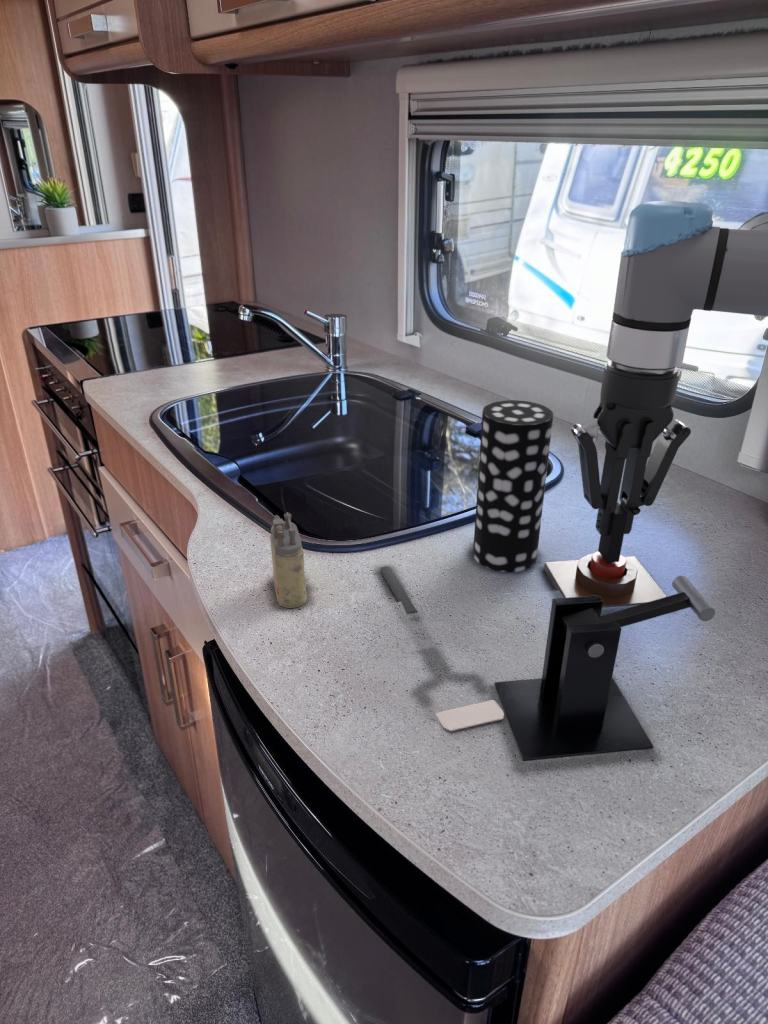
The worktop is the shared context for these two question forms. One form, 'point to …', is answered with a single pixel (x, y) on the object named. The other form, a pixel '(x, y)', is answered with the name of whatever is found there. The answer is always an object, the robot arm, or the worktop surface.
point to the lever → (649, 608)
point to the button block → (604, 582)
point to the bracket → (573, 693)
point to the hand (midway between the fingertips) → (608, 555)
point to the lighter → (288, 563)
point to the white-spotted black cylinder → (511, 484)
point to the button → (607, 566)
